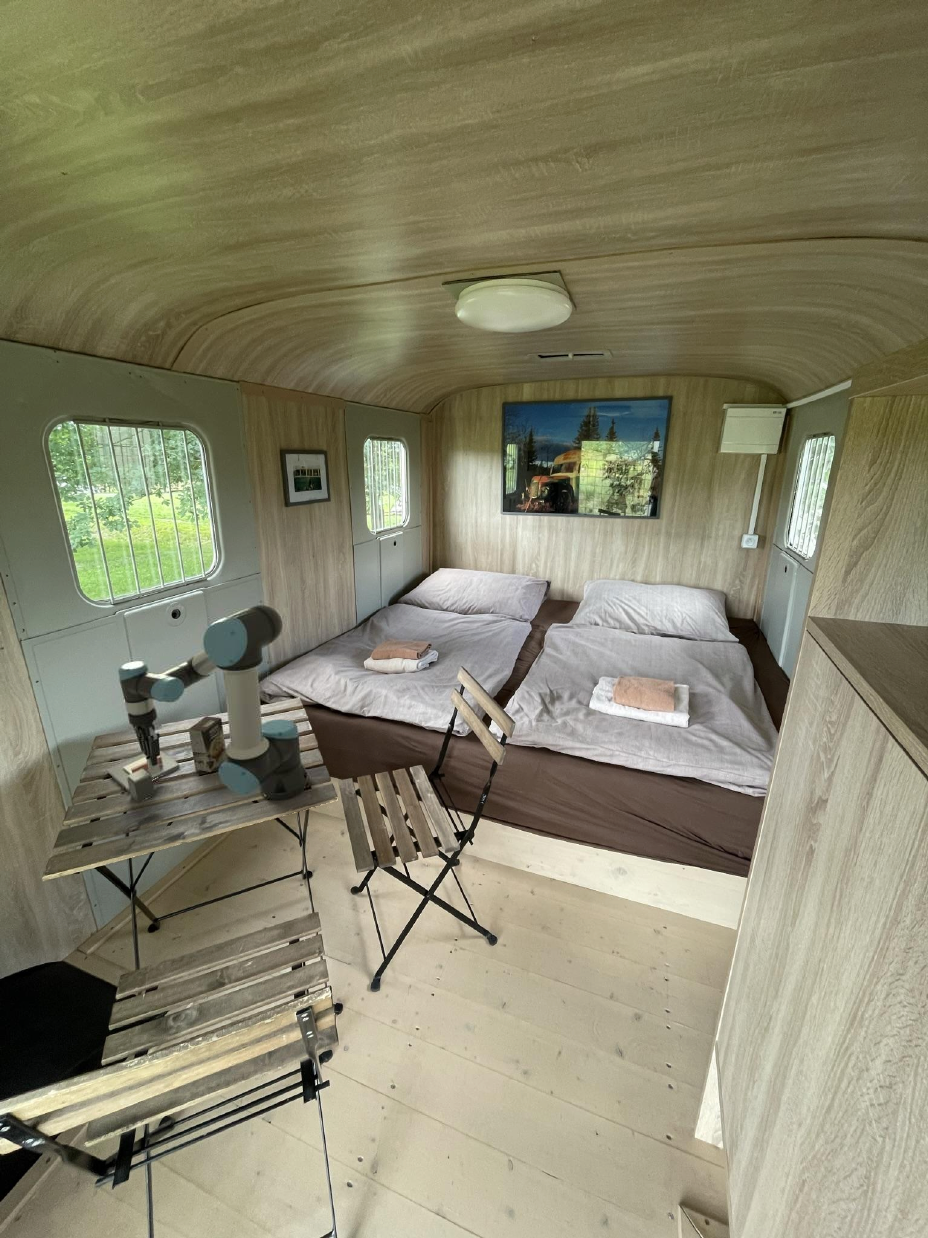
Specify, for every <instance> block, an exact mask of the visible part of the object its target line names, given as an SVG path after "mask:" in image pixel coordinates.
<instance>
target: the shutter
mask: <svg viewBox="0 0 928 1238" xmlns="http://www.w3.org/2000/svg"><path fill="white" fill-rule="evenodd" d="M157 758H158V763H159V766H161V765H163V763H162V758H161V756H158V757H157ZM123 769H124V770H126V771H127V772H128V773H129V774H132V773H134V772H136V771H139V770H141V769H144V770H145V771H147V772H148V771H149V769H148V765H147V760H146V757H144V758H142V759H140V760H138V761H135V762H133V763H131V764H129V765H126V766H124V767H123Z"/></svg>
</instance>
